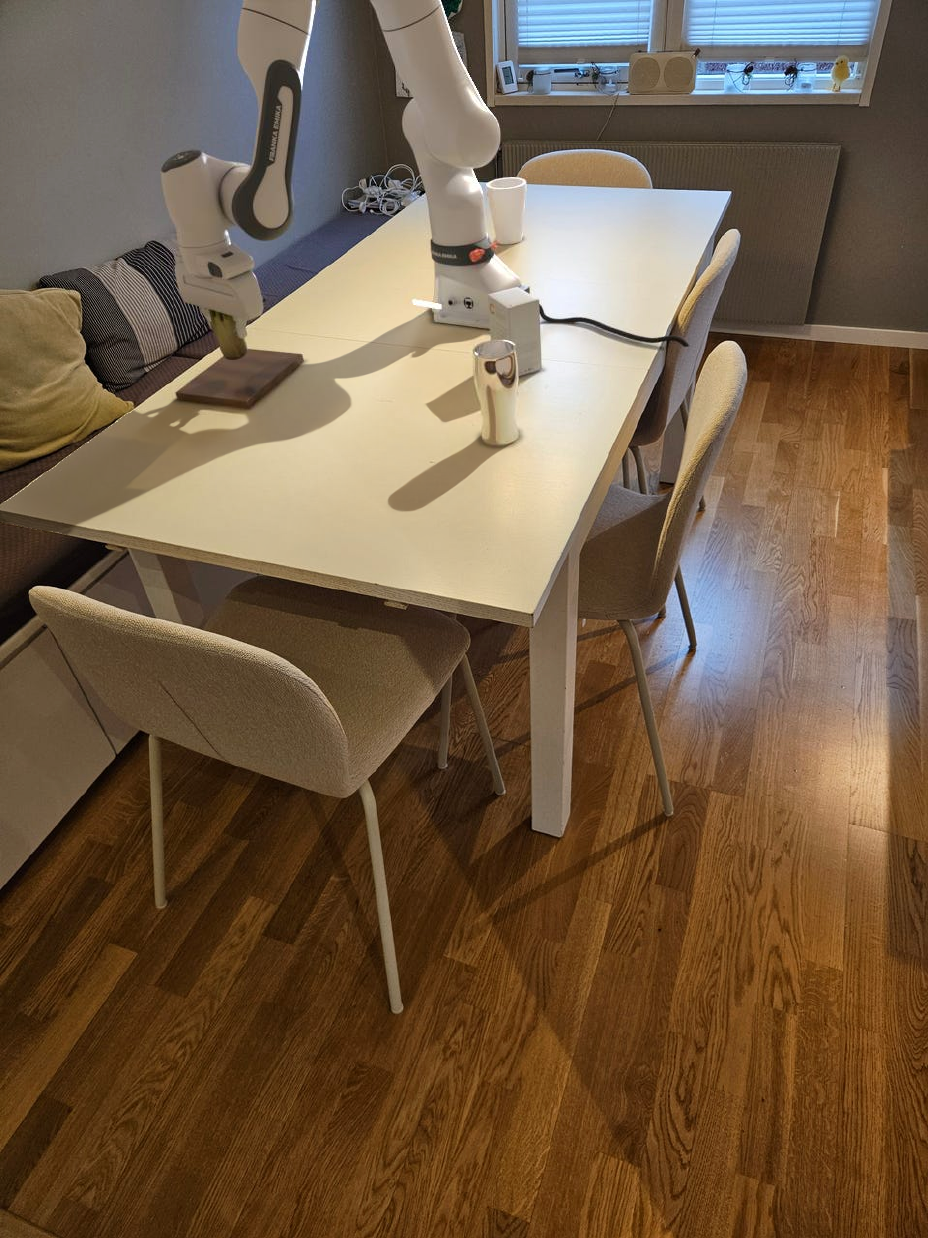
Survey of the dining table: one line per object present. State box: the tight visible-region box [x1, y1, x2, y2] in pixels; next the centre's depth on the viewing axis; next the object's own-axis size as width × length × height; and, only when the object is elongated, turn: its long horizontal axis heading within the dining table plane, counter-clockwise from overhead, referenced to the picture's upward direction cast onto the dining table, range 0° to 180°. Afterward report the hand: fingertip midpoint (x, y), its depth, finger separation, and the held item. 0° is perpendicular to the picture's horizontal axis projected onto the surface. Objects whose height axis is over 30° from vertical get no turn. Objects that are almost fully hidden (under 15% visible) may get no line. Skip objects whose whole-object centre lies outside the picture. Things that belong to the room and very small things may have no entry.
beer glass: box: [472, 339, 520, 446], centre depth 136 cm, size 7×7×15 cm
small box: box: [488, 287, 543, 378], centre depth 156 cm, size 8×6×13 cm
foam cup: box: [485, 176, 528, 245], centre depth 209 cm, size 10×9×13 cm
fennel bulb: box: [209, 309, 248, 360], centre depth 159 cm, size 6×5×12 cm
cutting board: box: [174, 348, 305, 410], centre depth 166 cm, size 20×16×2 cm
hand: (229, 332), depth 160 cm, fingers closed on fennel bulb, 6 cm apart
